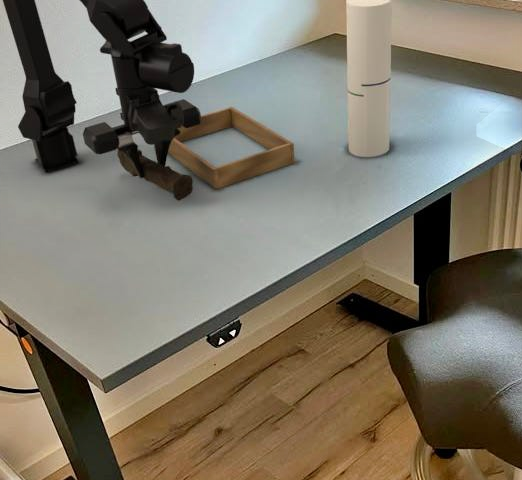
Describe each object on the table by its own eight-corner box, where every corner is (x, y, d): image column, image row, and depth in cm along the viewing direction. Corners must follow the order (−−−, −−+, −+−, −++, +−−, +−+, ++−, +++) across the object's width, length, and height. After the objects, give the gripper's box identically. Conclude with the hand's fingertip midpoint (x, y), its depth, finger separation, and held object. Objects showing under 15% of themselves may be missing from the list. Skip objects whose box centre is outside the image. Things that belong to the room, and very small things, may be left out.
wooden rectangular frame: (215, 189, 133) (213, 169, 131) (160, 147, 149) (157, 128, 147) (295, 162, 139) (294, 143, 137) (233, 124, 155) (231, 106, 152)
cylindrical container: (387, 157, 137) (390, 5, 122) (346, 156, 139) (343, 7, 124) (390, 140, 143) (393, -8, 127) (351, 139, 144) (348, -6, 129)
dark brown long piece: (196, 194, 130) (192, 168, 127) (176, 203, 128) (171, 177, 125) (135, 160, 142) (129, 136, 139) (116, 168, 140) (110, 144, 137)
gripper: (98, 113, 115) (118, 209, 125) (211, 81, 122) (222, 174, 132) (72, 92, 123) (93, 184, 133) (179, 63, 130) (192, 152, 139)
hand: (151, 174), depth 134 cm, fingers closed on dark brown long piece, 3 cm apart
